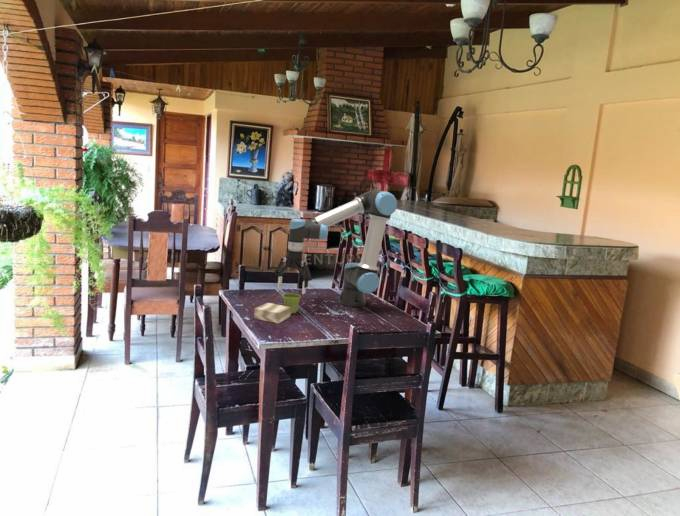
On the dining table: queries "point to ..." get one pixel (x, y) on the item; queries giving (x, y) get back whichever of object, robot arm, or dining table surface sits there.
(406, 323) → the dining table surface
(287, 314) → the ash block
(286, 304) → the plant pot
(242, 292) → the dining table surface
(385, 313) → the dining table surface
